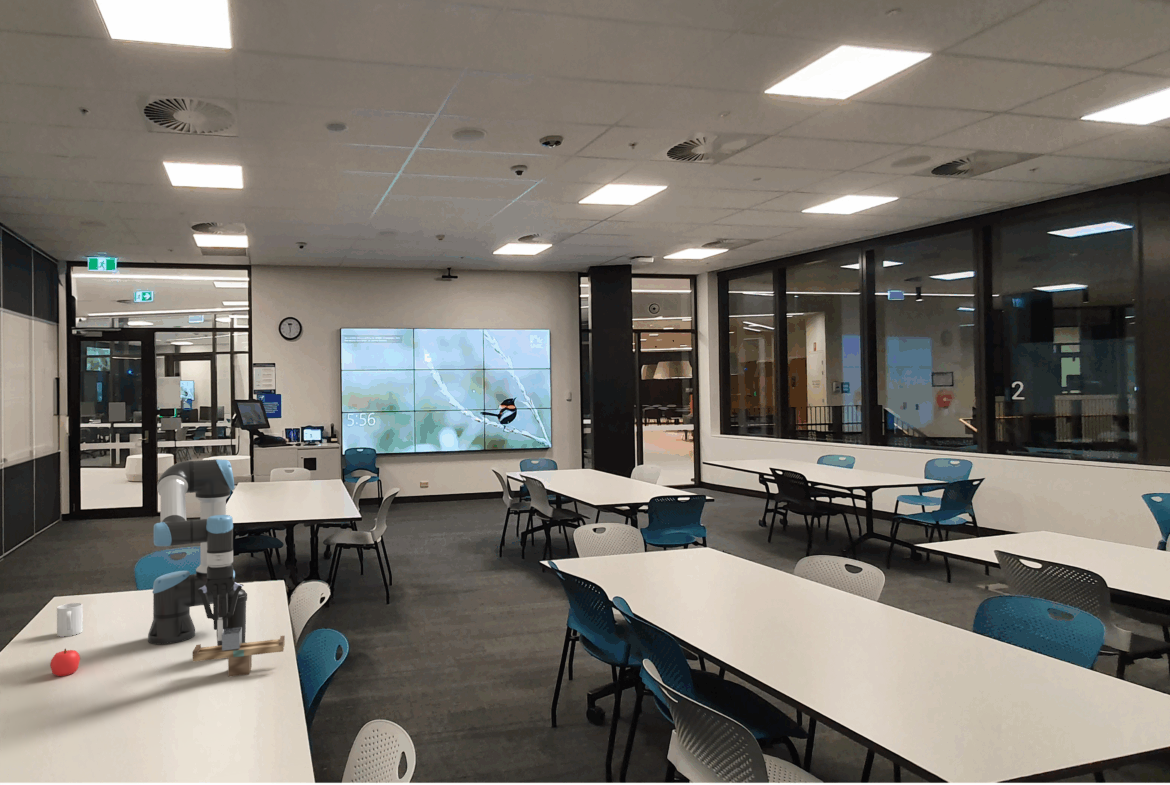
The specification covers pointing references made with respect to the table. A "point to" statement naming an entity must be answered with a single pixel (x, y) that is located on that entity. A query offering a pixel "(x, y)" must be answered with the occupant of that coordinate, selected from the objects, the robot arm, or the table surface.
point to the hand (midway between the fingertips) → (220, 639)
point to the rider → (231, 638)
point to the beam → (239, 654)
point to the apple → (65, 662)
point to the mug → (69, 619)
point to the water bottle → (235, 612)
